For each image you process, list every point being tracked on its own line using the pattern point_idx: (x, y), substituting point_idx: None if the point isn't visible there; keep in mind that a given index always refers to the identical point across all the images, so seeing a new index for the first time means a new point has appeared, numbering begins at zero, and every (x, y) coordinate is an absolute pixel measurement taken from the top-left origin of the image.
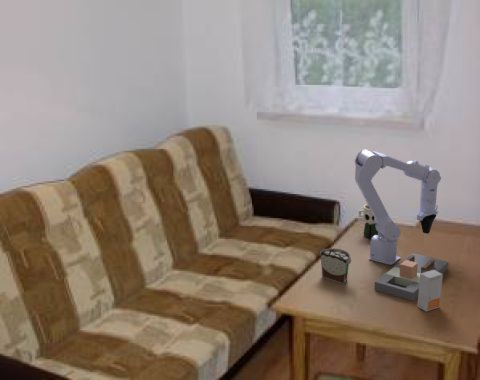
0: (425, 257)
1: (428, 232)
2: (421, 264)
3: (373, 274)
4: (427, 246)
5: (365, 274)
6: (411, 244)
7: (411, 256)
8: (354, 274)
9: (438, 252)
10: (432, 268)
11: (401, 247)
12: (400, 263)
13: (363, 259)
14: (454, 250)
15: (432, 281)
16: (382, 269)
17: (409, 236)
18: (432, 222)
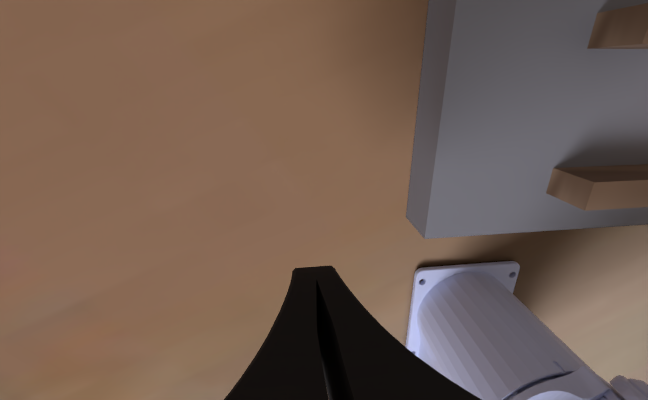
0: (457, 141)
1: (329, 270)
2: (581, 111)
3: (628, 270)
4: (159, 240)
5: (635, 291)
6: (202, 312)
7: (616, 192)
8: (644, 319)
9: (197, 146)
10: None
11: None
12: (601, 219)
13: None
14: (71, 64)
15: None
16: (566, 268)
17: (106, 367)
18: (274, 359)
